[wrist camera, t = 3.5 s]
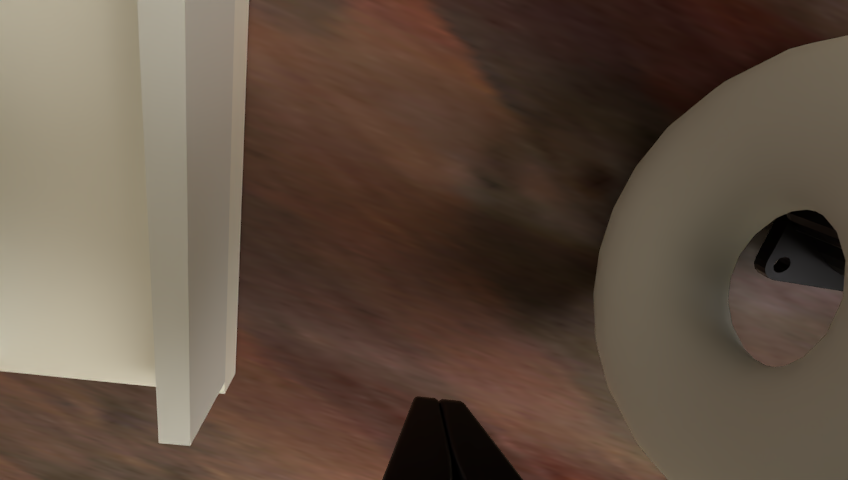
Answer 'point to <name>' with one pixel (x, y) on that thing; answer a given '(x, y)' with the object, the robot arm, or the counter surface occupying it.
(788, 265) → the robot arm
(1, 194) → the tiered shelf rack
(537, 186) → the counter surface
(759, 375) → the donut
